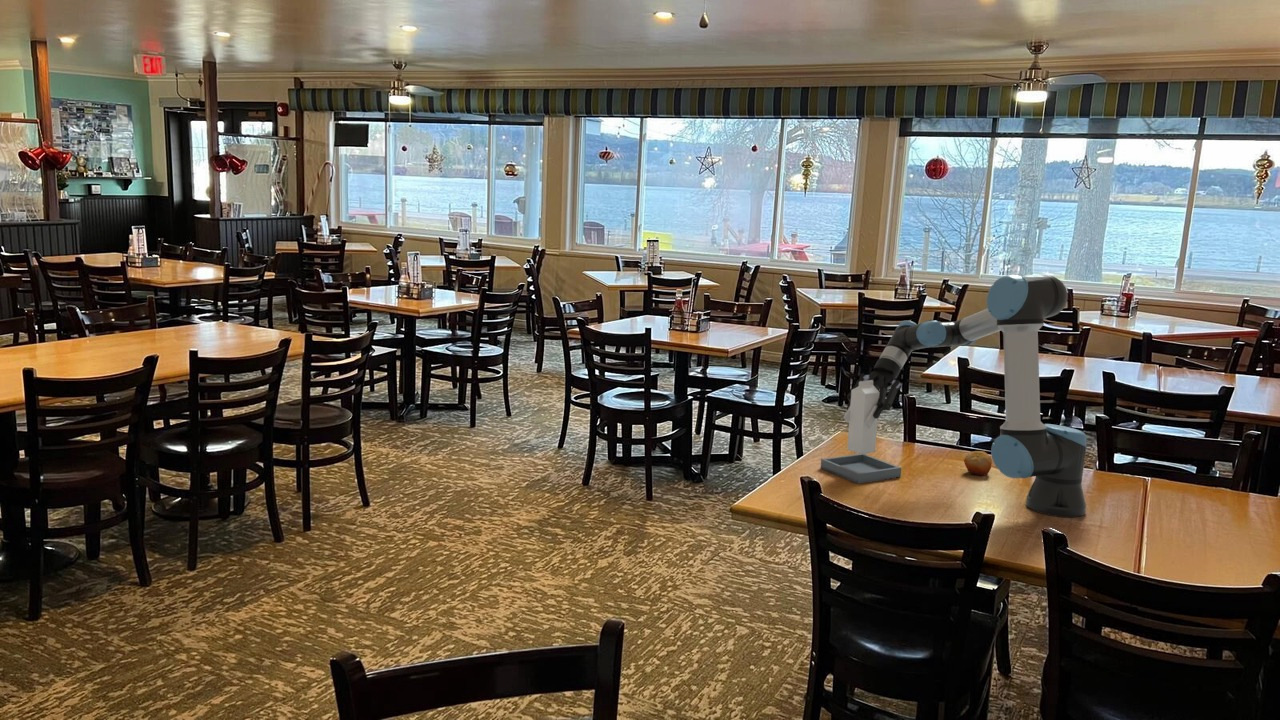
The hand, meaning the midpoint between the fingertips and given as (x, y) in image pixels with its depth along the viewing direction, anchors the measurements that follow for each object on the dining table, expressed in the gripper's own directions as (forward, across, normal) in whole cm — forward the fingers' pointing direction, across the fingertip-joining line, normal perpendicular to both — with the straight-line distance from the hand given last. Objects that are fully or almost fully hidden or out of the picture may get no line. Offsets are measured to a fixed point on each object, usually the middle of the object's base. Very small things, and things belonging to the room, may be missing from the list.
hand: (856, 422), depth 282 cm
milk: (+4, 0, -9) cm, 10 cm away
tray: (+9, 0, -14) cm, 17 cm away
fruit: (-11, -24, -34) cm, 43 cm away
